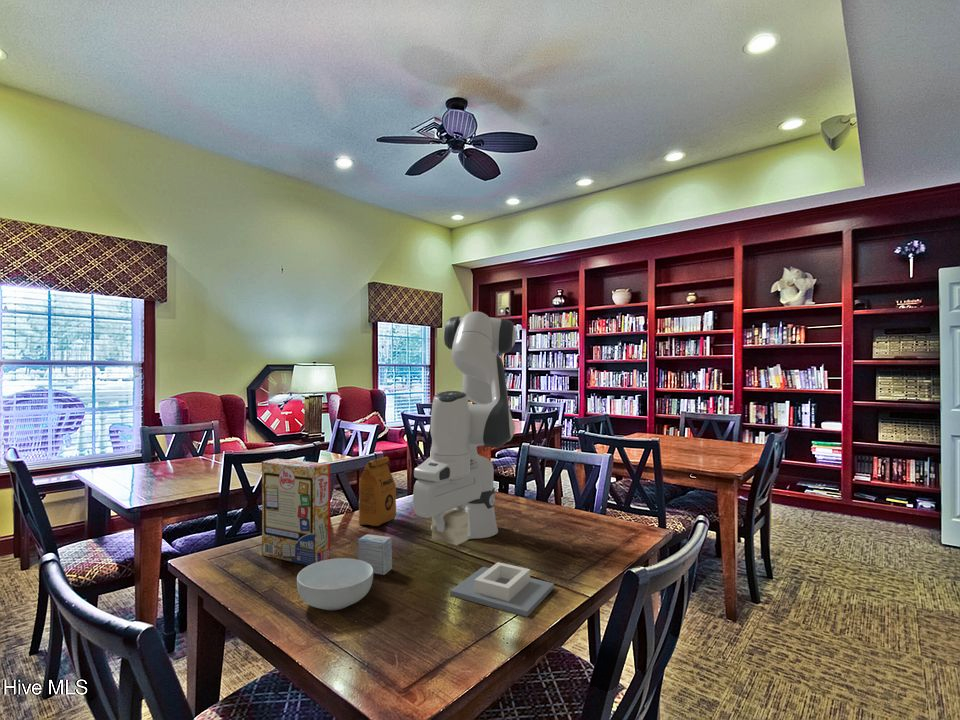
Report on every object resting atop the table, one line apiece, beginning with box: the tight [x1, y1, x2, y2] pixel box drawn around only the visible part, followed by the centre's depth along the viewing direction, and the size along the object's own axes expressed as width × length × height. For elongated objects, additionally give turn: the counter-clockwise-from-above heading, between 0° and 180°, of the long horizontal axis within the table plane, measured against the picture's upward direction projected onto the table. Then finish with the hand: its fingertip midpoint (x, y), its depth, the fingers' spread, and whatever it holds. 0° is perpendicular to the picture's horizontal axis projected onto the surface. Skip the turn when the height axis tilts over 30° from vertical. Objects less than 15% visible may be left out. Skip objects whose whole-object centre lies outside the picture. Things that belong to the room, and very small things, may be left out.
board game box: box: [261, 458, 331, 566], centre depth 141 cm, size 20×6×27 cm, turn 65°
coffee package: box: [358, 456, 397, 527], centre depth 173 cm, size 10×12×22 cm
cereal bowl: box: [296, 557, 374, 611], centre depth 116 cm, size 17×17×7 cm
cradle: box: [449, 561, 555, 618], centre depth 121 cm, size 20×16×4 cm
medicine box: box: [357, 533, 393, 576], centre depth 133 cm, size 8×4×9 cm, turn 71°
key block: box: [431, 509, 469, 546], centre depth 111 cm, size 7×4×6 cm, turn 55°
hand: (449, 527), depth 111 cm, fingers closed on key block, 4 cm apart
